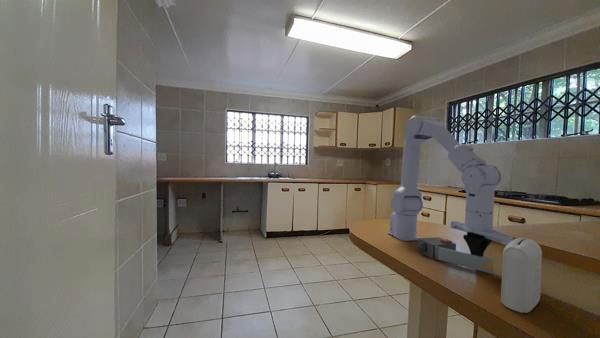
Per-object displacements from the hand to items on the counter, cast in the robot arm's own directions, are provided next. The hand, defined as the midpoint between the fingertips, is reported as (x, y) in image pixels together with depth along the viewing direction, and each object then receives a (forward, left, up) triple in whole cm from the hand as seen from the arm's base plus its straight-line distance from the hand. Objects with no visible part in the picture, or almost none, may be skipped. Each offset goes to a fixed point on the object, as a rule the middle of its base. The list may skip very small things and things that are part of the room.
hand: (476, 263), depth 59 cm
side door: (-1, -3, -1) cm, 4 cm away
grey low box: (-10, -3, -1) cm, 11 cm away
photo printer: (+14, -6, -2) cm, 15 cm away
